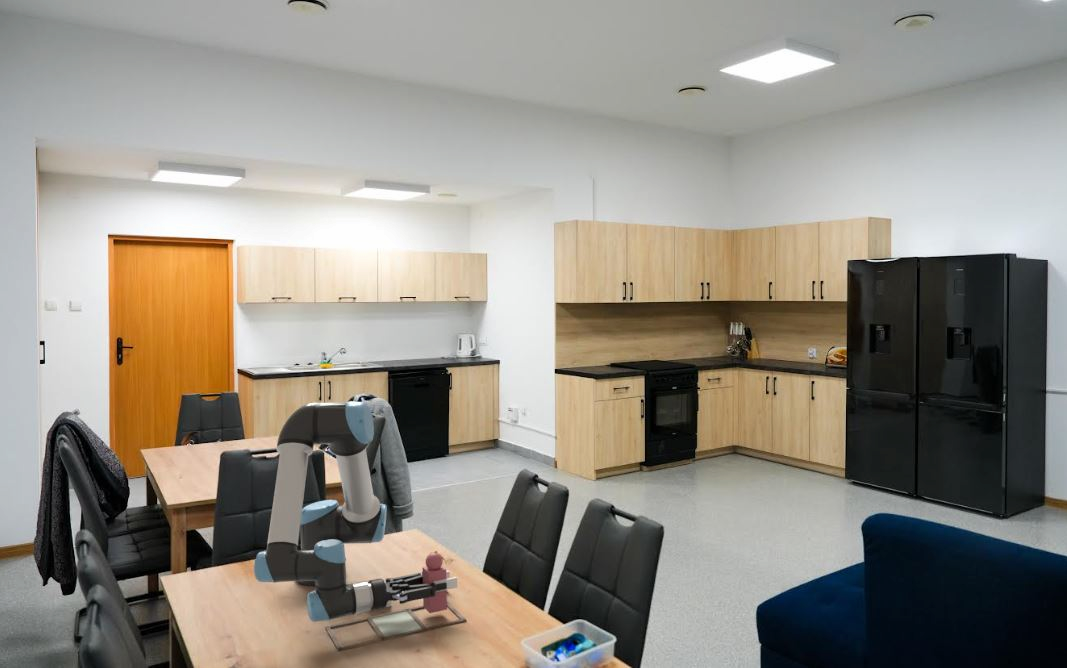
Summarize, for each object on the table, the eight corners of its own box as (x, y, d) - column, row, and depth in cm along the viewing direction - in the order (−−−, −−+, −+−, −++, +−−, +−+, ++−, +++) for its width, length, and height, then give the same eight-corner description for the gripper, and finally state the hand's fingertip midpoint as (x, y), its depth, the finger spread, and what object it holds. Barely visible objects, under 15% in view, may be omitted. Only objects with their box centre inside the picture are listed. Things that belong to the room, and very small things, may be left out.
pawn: (423, 606, 203) (422, 552, 203) (440, 603, 205) (439, 549, 205) (429, 613, 199) (428, 557, 198) (447, 609, 201) (445, 554, 200)
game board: (325, 628, 196) (325, 626, 196) (446, 601, 212) (446, 600, 212) (338, 651, 183) (338, 649, 183) (466, 621, 198) (466, 619, 198)
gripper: (360, 598, 202) (441, 581, 212) (379, 622, 186) (465, 603, 196) (359, 570, 201) (440, 556, 212) (378, 593, 185) (465, 575, 196)
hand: (452, 578), depth 204 cm, fingers closed on pawn, 5 cm apart
